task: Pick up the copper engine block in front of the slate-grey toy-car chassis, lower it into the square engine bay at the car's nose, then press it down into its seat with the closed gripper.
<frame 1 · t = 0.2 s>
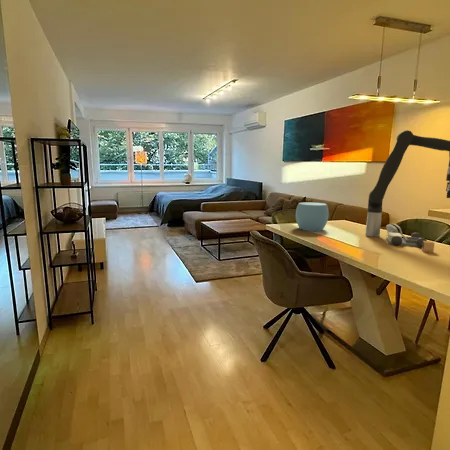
chassis: (406, 243, 212), on the table
engine block: (427, 251, 191), on the table
planter: (310, 229, 257), on the table
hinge: (394, 236, 236), on the table
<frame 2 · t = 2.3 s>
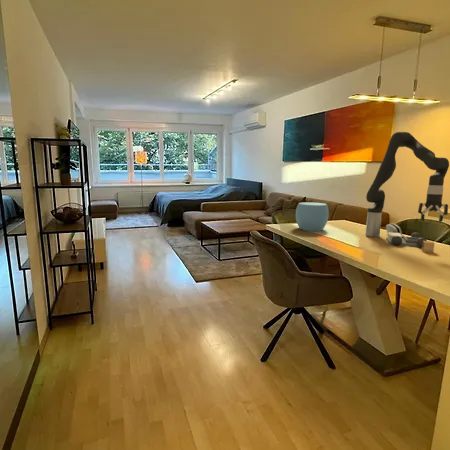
hand: (431, 221, 188), 18 cm above the table, tool pointing down, fingers open, 8 cm apart
nothing on the table moved.
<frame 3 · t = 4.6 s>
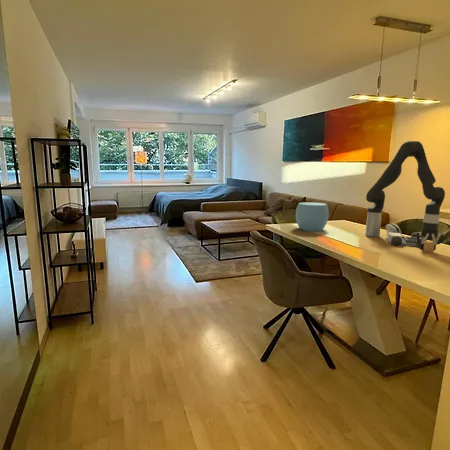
hand: (427, 250, 191), 1 cm above the table, tool pointing down, fingers closed on engine block, 5 cm apart
engine block: (427, 251, 191), on the table, touching gripper
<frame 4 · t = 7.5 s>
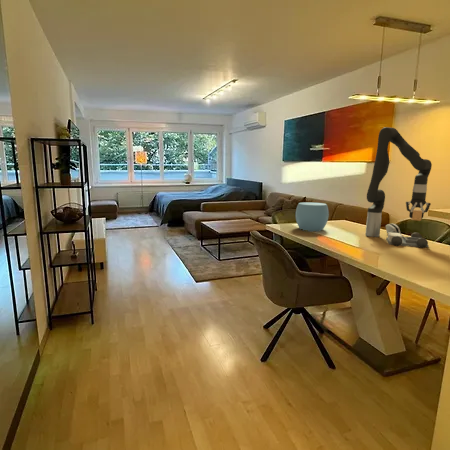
hand: (416, 218, 208), 17 cm above the table, tool pointing down, fingers closed on engine block, 5 cm apart
engine block: (415, 219, 208), point 16 cm above the table, touching gripper
everything else where it was.
when the fingers open (5 cm above the table, at t = 10.5 s): engine block drops 2 cm, resting on chassis.
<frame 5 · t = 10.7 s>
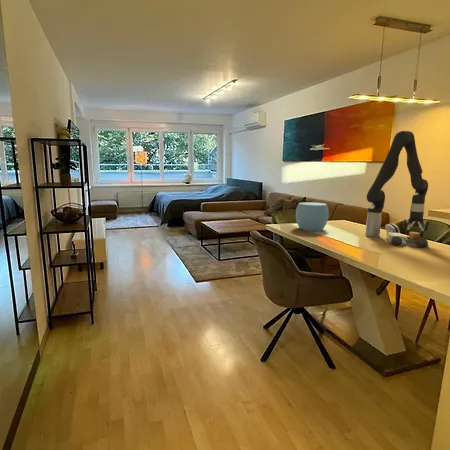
hand: (414, 236, 210), 5 cm above the table, tool pointing down, fingers open, 7 cm apart
engine block: (413, 241, 211), point 1 cm above the table, touching chassis
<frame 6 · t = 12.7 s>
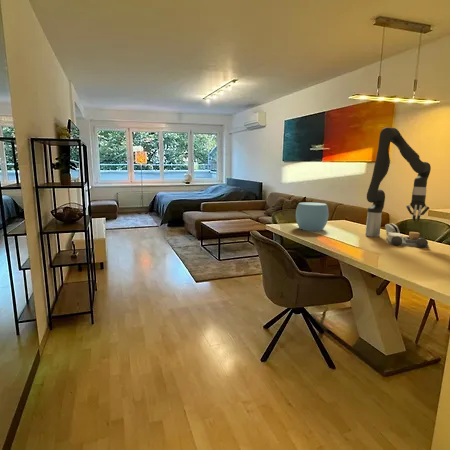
hand: (415, 221, 208), 15 cm above the table, tool pointing down, fingers closed
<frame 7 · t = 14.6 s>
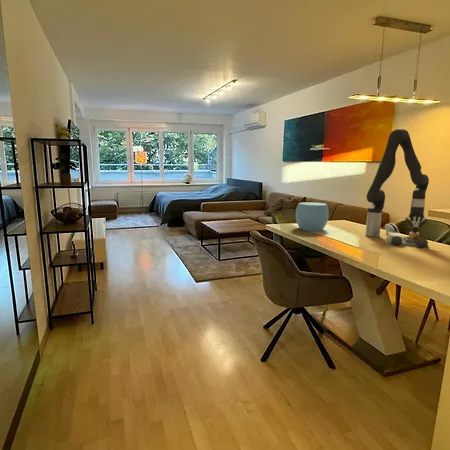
hand: (414, 232, 210), 7 cm above the table, tool pointing down, fingers closed
engine block: (413, 241, 211), point 1 cm above the table, touching chassis, gripper
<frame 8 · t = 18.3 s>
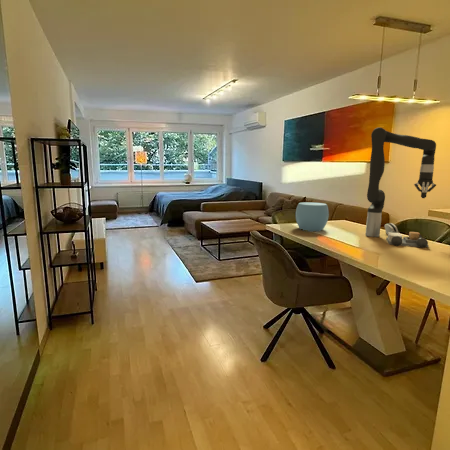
hand: (423, 198, 215), 29 cm above the table, tool pointing down, fingers closed
engine block: (413, 241, 211), point 1 cm above the table, touching chassis
at the end: engine block 0.0 cm from the target spot on the chassis, point 1.5 cm above the chassis's base; engine block tilted 0°; the gripper is holding nothing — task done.
